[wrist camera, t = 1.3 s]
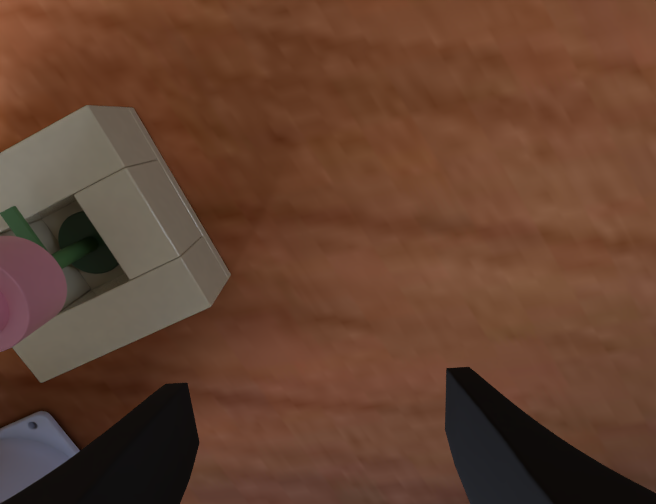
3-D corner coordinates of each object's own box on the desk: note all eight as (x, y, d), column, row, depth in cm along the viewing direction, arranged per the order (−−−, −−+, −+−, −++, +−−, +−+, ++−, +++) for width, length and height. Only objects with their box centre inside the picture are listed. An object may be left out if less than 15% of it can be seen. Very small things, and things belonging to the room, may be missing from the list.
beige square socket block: (87, 341, 22) (40, 383, 19) (-24, 191, 20) (-101, 207, 16) (231, 274, 21) (211, 307, 18) (133, 106, 19) (86, 104, 15)
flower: (93, 281, 21) (-65, 390, 12) (41, 206, 20) (-171, 272, 11) (150, 253, 20) (27, 347, 12) (100, 175, 19) (-75, 219, 11)
